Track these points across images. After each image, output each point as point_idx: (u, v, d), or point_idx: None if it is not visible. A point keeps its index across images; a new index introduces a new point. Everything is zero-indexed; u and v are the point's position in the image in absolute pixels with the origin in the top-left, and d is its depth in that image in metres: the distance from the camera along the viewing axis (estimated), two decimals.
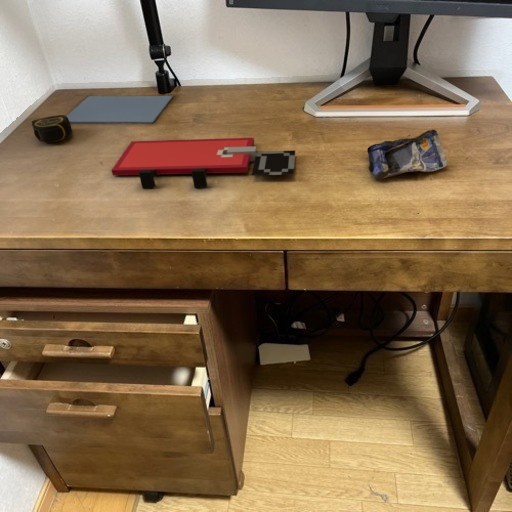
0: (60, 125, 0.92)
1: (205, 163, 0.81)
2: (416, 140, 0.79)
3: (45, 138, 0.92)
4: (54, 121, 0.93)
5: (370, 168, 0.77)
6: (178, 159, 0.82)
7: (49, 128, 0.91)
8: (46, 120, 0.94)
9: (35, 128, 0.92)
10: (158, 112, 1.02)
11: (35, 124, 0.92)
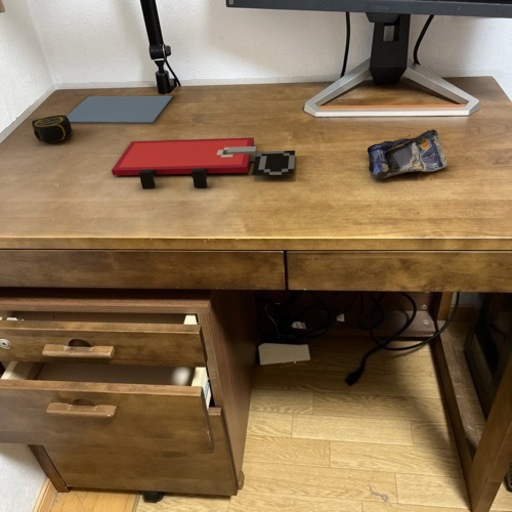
0: (60, 125, 0.92)
1: (205, 163, 0.81)
2: (416, 140, 0.79)
3: (45, 138, 0.92)
4: (54, 121, 0.93)
5: (370, 168, 0.77)
6: (178, 159, 0.82)
7: (49, 128, 0.91)
8: (46, 120, 0.94)
9: (35, 128, 0.92)
10: (158, 112, 1.02)
11: (35, 124, 0.92)
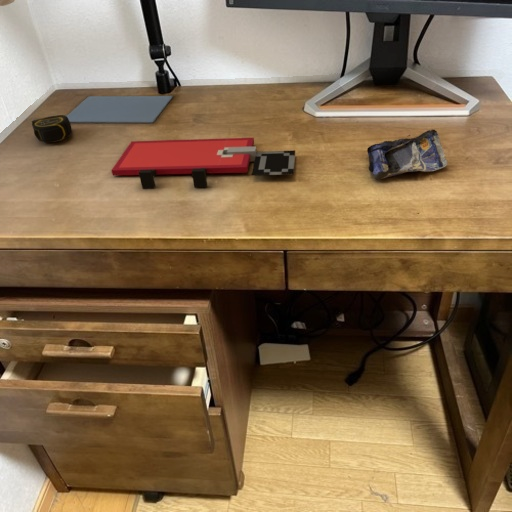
0: (60, 125, 0.92)
1: (205, 163, 0.81)
2: (416, 140, 0.79)
3: (45, 138, 0.92)
4: (54, 121, 0.93)
5: (370, 168, 0.77)
6: (178, 160, 0.82)
7: (49, 128, 0.91)
8: (46, 120, 0.94)
9: (35, 128, 0.92)
10: (158, 112, 1.02)
11: (35, 124, 0.92)
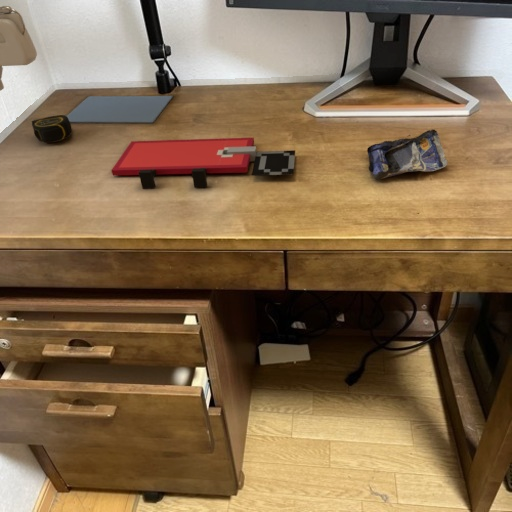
0: (60, 125, 0.92)
1: (205, 163, 0.81)
2: (416, 140, 0.79)
3: (45, 138, 0.92)
4: (54, 121, 0.93)
5: (370, 168, 0.77)
6: (178, 159, 0.82)
7: (49, 128, 0.91)
8: (46, 120, 0.94)
9: (35, 128, 0.92)
10: (158, 112, 1.02)
11: (35, 124, 0.92)
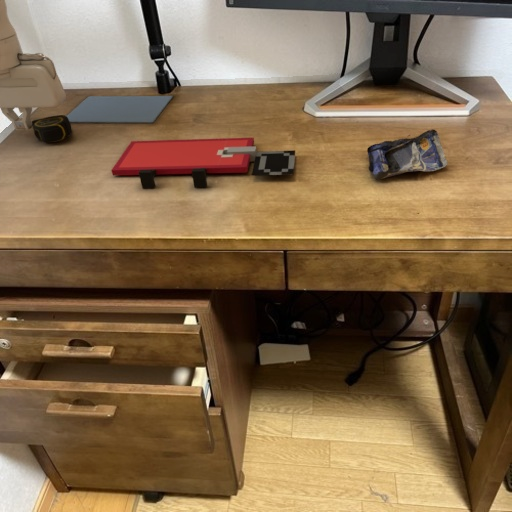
0: (60, 125, 0.92)
1: (205, 163, 0.81)
2: (416, 140, 0.79)
3: (45, 138, 0.92)
4: (54, 121, 0.93)
5: (370, 168, 0.77)
6: (178, 159, 0.82)
7: (49, 128, 0.91)
8: (46, 120, 0.94)
9: (35, 128, 0.92)
10: (158, 112, 1.02)
11: (35, 124, 0.92)
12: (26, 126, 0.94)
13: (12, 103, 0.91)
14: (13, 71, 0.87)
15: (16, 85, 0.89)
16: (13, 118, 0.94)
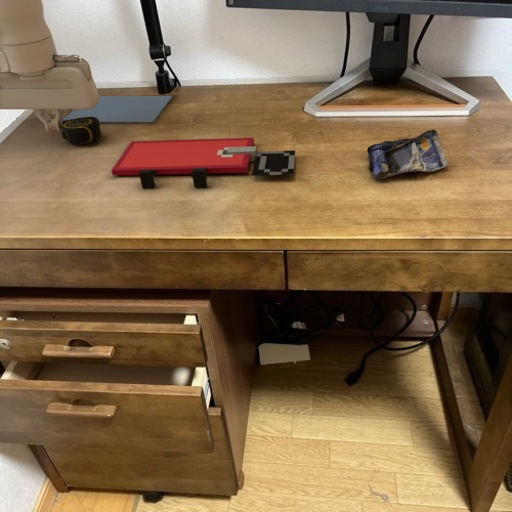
0: (87, 127, 0.90)
1: (205, 163, 0.81)
2: (416, 140, 0.79)
3: (72, 140, 0.91)
4: (83, 123, 0.92)
5: (370, 168, 0.77)
6: (178, 159, 0.82)
7: (76, 131, 0.90)
8: (75, 121, 0.93)
9: (63, 129, 0.91)
10: (158, 112, 1.02)
11: (64, 125, 0.91)
12: (58, 128, 0.94)
13: (45, 105, 0.90)
14: (48, 73, 0.86)
15: (51, 87, 0.88)
16: (45, 120, 0.93)
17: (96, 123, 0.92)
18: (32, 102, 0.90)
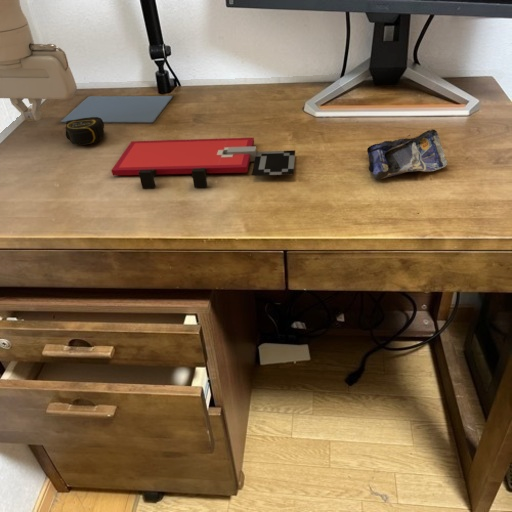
0: (90, 128, 0.90)
1: (205, 163, 0.81)
2: (416, 140, 0.79)
3: (75, 140, 0.90)
4: (86, 123, 0.91)
5: (370, 168, 0.77)
6: (178, 159, 0.82)
7: (79, 131, 0.89)
8: (79, 122, 0.92)
9: (66, 129, 0.91)
10: (158, 112, 1.02)
11: (67, 125, 0.91)
12: (35, 117, 0.93)
13: (22, 94, 0.90)
14: (24, 61, 0.86)
15: (27, 76, 0.88)
16: (22, 109, 0.93)
17: (99, 124, 0.92)
18: (8, 91, 0.90)
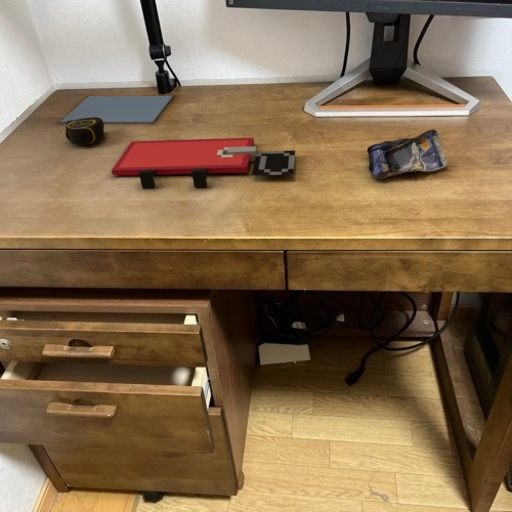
0: (90, 128, 0.90)
1: (205, 163, 0.81)
2: (416, 140, 0.79)
3: (75, 140, 0.90)
4: (86, 123, 0.91)
5: (370, 168, 0.77)
6: (178, 159, 0.82)
7: (79, 131, 0.89)
8: (79, 122, 0.92)
9: (66, 129, 0.91)
10: (158, 112, 1.02)
11: (67, 125, 0.91)
12: None
13: None
14: None
15: None
16: None
17: (99, 124, 0.92)
18: None
